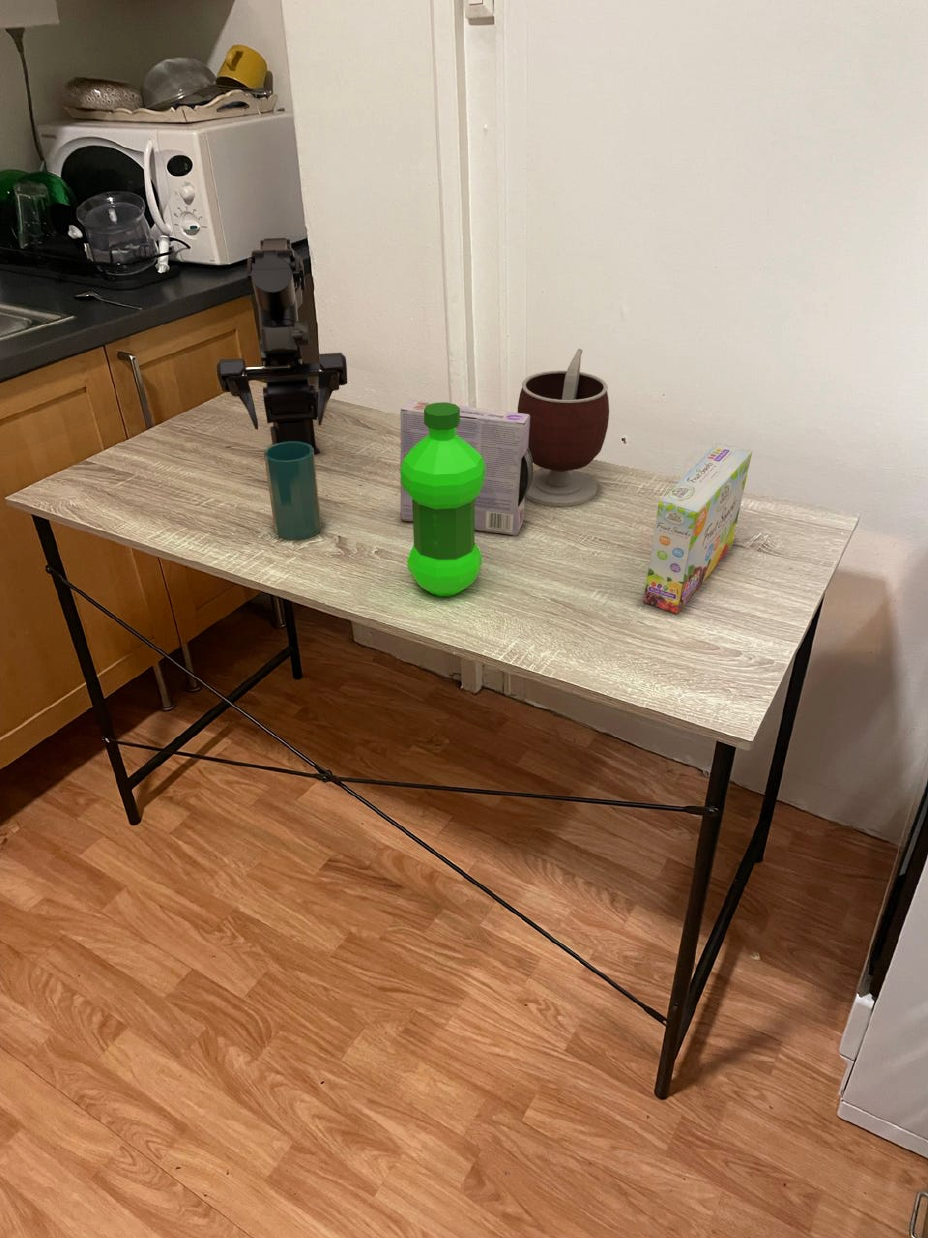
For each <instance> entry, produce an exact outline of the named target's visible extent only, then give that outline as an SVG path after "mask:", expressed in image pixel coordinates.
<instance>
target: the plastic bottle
mask: <svg viewBox="0 0 928 1238" xmlns="http://www.w3.org/2000/svg"><path fill="white" fill-rule="evenodd" d="M432 403H433V404H430V405H427V406H426V407H425V409H424V424H425V425H426V426H427V427H428V428H429V435H428V436H426V437H425V438H423V439H422V440H421V441H420V442H418V443H417V444H416V445H415V446H414V447H413V448H411V449H410V451H409V452H408V454H407V455H406V457H405V458H404V460H403V463H402V466H401V469H400V471H399V472H400V473H401V475H400V482H401V481H402V485H403V488H404V490H405V491H406V492H407V493H408V494H409V495H410V497H411V498H412V509H413V521H412V532H413V533H412V534H413V545H412V548H411V549H410V552H409V554H408V556H407V560H406V561H407V562H406V564H407V569H408V571H409V573H410V575H411V576H412V578H413V579H414V580H415V582H416V583H417V584H418V586H419V587H420V588H422V589H424V590H425V591H427V592H429V593H430V594H432V595H434V596H435V595H436V596H438V597H453V596H455V595H457V594H460V593H461V592H463V591H464V590H465V589H466V588H468V587H470V586H471V585H472V584H473V583H475V580H476V579H477V576H478V574H479V572H480V569H481V567H482V563H483V562H482V561H483V556H482V553H481V551H480V548H479V546H478V545H477V544H476V541H475V540H476V537H475V536H476V535H475V534H476V530H475V498H476V497H477V496H478V494H479V492H480V490H481V488H482V485H483V482H484V478H485V463H484V461H483V458H482V456H481V455H480V454H479V453H478V452H477V451H476V450H475V449H473V448H472V447H471V446H470V445H469V444H468V443H467V442H465V441H464V440H463V439H462V438H460V437H459V436H457V435H456V427H458V425H459V423H460V408H459V407H458V406H459V405H457V404H456V403H451V402H448V401H447V402H446V401H445V402H432ZM400 473H399V474H400Z"/></svg>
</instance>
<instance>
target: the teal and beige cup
mask: <svg viewBox="0 0 928 1238" xmlns="http://www.w3.org/2000/svg"><path fill="white" fill-rule="evenodd" d="M263 458H264V463H265V464H264V465H265V471H266V479H267V486H268V492H269V493H268V494H269V501H270V507H271V515H272V521H273V522H272V523H273V529H274V532H275V534H276V536H278V537H279V538H281V539H284V540H288V541H301V540H306V539H310V538H313V537H315V536H317V535H318V534H319V533H320V531H321V530H322V515H321V507H320V497H319V488H318V487H319V486H318V479H317V478H318V477H317V469H316V460H315V454H314V449H313V447H312V446H311V445H310V444H307V443H304V442H297V441H288V442H281V443H277V444H274V445H272V444H271V445H269V446H268V447H267V448H265V449H264V453H263Z"/></svg>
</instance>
